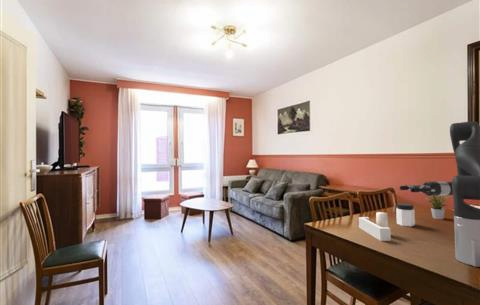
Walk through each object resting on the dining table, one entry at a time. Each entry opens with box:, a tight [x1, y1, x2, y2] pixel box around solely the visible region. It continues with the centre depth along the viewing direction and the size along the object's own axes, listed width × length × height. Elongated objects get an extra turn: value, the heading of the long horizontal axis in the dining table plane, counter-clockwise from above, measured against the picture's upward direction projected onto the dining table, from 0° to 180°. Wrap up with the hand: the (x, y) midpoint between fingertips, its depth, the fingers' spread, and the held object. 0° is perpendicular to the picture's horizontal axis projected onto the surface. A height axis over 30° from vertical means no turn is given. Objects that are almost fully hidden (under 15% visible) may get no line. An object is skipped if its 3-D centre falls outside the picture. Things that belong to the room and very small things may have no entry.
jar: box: [395, 202, 416, 228], centre depth 144 cm, size 9×8×12 cm
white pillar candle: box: [375, 211, 389, 227], centre depth 128 cm, size 5×5×11 cm
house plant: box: [425, 195, 452, 220], centre depth 155 cm, size 14×14×16 cm
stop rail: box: [358, 216, 392, 242], centre depth 129 cm, size 22×5×6 cm, turn 179°
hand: (405, 189), depth 128 cm, fingers open, 8 cm apart
